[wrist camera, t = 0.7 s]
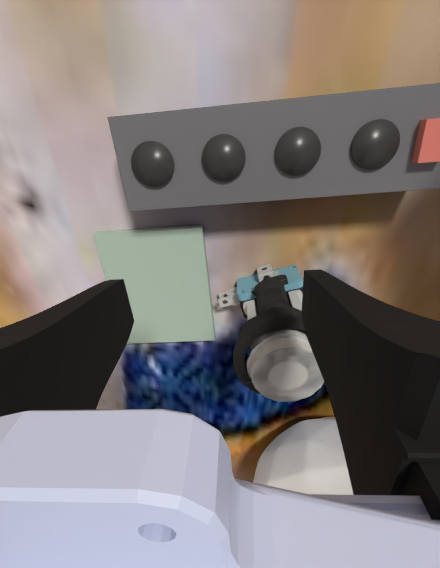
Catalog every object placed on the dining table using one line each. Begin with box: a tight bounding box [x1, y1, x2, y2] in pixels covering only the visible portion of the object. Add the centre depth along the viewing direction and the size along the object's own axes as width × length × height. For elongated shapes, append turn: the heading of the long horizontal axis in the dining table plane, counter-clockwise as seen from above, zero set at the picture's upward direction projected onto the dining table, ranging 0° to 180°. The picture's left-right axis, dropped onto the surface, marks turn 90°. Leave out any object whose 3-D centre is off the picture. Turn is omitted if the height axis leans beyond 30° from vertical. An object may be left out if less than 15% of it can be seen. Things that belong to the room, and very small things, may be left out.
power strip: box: [108, 83, 440, 211], centre depth 17 cm, size 18×5×4 cm, turn 95°
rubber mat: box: [93, 225, 215, 344], centre depth 23 cm, size 8×10×1 cm
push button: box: [218, 264, 325, 401], centre depth 19 cm, size 7×5×10 cm
